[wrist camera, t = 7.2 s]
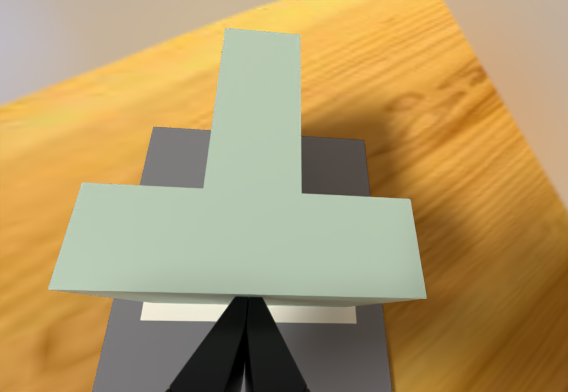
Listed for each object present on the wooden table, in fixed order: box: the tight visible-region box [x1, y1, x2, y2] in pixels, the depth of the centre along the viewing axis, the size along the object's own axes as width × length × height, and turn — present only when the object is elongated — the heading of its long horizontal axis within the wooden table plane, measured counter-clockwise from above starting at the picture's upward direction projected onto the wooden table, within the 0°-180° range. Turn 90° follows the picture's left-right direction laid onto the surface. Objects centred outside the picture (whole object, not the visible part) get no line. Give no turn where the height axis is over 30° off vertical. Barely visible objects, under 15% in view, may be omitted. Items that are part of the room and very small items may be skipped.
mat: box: [92, 127, 392, 392], centre depth 15 cm, size 22×14×1 cm, turn 179°
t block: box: [48, 28, 427, 307], centre depth 13 cm, size 10×10×8 cm
